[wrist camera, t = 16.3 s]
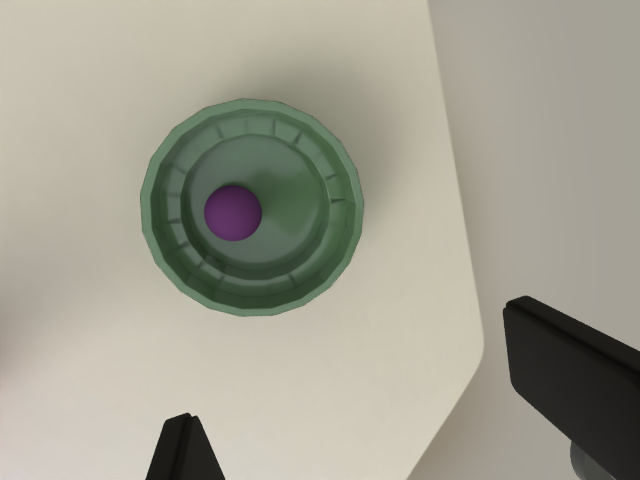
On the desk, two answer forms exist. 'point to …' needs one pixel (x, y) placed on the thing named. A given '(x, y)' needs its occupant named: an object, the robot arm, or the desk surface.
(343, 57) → the desk surface
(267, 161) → the bowl
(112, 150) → the desk surface
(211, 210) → the ball
